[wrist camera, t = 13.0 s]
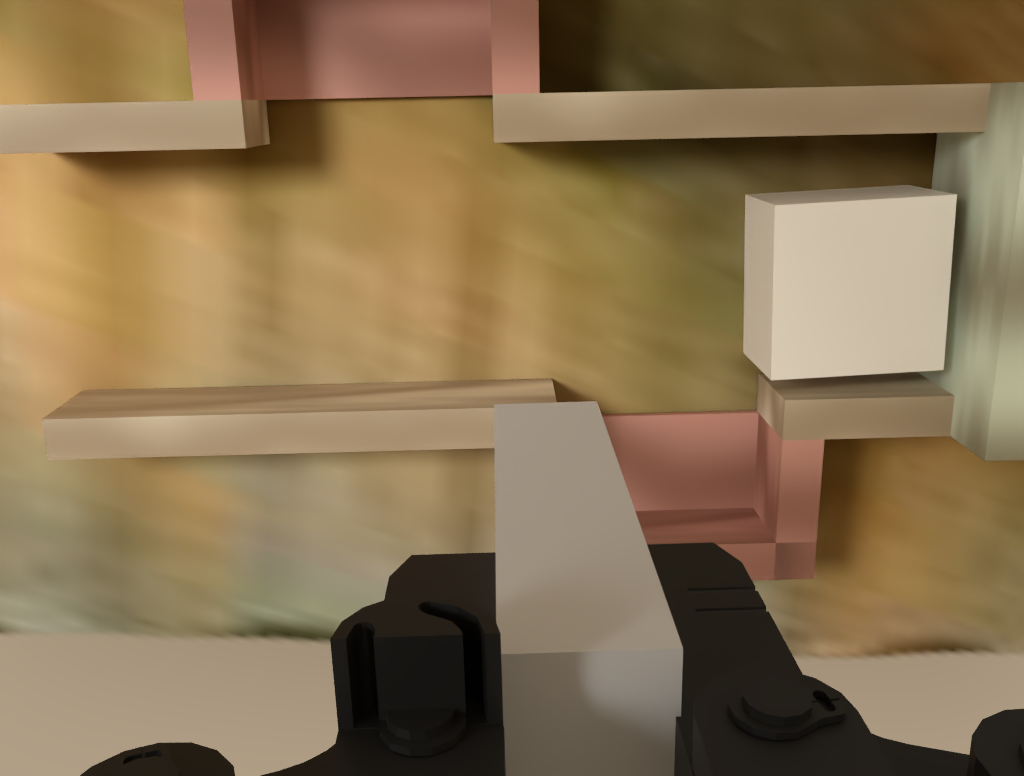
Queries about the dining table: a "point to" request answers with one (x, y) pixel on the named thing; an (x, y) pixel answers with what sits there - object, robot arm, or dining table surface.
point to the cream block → (847, 281)
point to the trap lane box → (470, 404)
